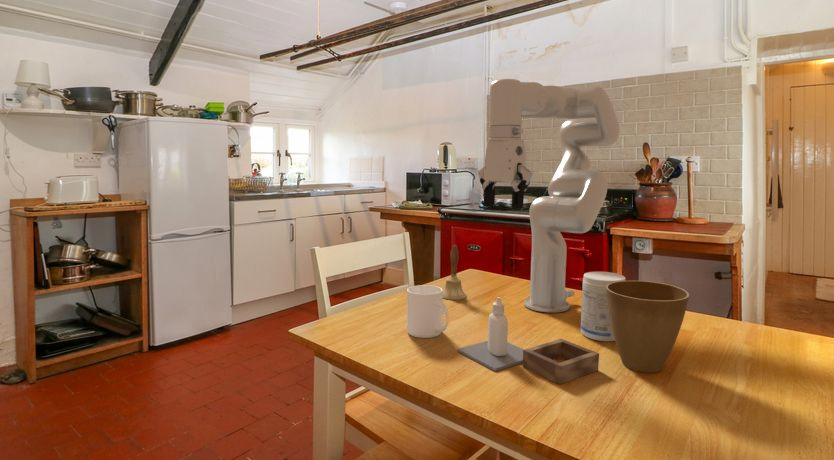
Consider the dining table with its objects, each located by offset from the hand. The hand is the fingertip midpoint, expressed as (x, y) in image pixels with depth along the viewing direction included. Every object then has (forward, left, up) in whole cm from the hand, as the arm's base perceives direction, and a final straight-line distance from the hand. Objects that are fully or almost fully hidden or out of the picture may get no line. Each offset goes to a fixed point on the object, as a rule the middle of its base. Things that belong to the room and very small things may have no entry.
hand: (502, 206), depth 114 cm
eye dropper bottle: (+12, +12, -30) cm, 34 cm away
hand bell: (-8, -29, -31) cm, 43 cm away
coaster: (+12, +12, -30) cm, 35 cm away
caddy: (+6, +24, -30) cm, 39 cm away
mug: (+17, -6, -31) cm, 35 cm away
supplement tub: (-17, +17, -31) cm, 39 cm away
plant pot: (-9, +32, -31) cm, 45 cm away
